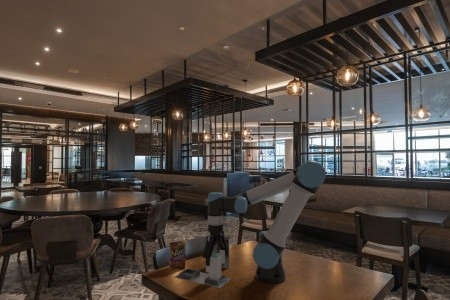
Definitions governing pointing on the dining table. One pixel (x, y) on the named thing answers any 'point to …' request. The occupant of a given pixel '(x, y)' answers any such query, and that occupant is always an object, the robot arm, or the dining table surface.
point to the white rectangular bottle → (215, 267)
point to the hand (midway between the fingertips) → (215, 267)
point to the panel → (201, 278)
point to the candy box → (177, 254)
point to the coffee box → (227, 253)
